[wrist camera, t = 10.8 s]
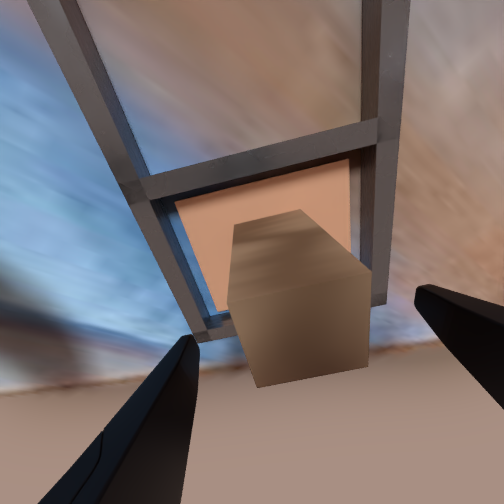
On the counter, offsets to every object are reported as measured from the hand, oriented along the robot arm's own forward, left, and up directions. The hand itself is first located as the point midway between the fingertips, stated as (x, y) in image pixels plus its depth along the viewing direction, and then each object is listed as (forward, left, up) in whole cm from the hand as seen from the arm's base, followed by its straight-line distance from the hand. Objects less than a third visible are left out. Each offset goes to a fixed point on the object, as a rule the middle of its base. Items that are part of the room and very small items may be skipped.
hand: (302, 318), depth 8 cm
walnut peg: (0, 0, -7) cm, 7 cm away
